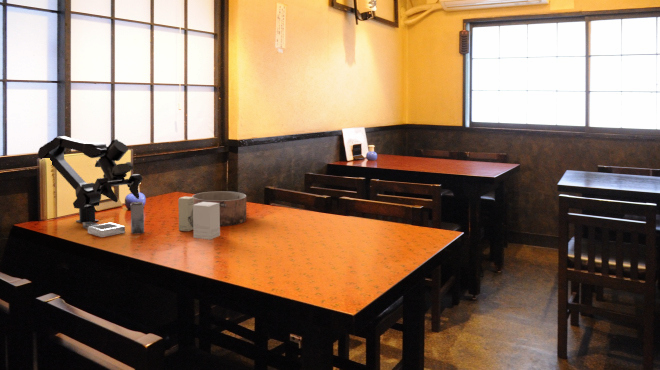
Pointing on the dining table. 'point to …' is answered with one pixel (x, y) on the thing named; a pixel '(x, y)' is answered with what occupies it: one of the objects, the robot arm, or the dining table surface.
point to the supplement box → (206, 220)
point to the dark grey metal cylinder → (137, 218)
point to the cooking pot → (226, 205)
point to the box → (186, 213)
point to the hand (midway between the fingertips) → (127, 200)
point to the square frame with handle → (103, 229)
